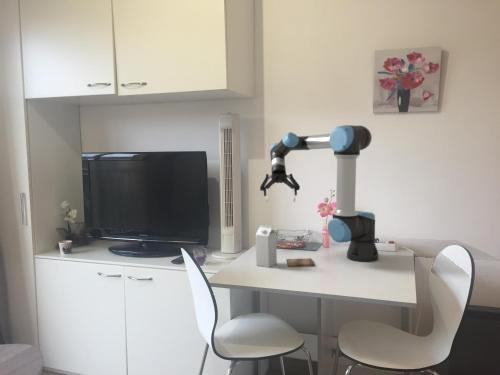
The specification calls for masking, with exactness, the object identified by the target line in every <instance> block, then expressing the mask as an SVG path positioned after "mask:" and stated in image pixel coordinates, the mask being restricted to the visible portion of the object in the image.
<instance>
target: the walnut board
mask: <svg viewBox="0 0 500 375" xmlns="http://www.w3.org/2000/svg"><path fill="white" fill-rule="evenodd" d="M285 262H286V263H287V264H286V265H287V266H288V268H302V267H303V268H304V267H307V268H308V267H315V263H314V261H313V260H312V257H311V258H310V257H309V258H286V261H285Z"/></svg>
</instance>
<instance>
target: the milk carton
mask: <svg viewBox="0 0 500 375" xmlns="http://www.w3.org/2000/svg"><path fill="white" fill-rule="evenodd" d="M277 254H278V253H277V232H276V231H275V230H274V228H273V225H268V224H267V225H264V224H259V228H258V229H257V231H256V233H255V261H256V262H255V264H256V266H259V267H265V268H271V267H272V266H275V265H276V264H277V263H278V260H277V259H278V258H277V257H278V256H277Z"/></svg>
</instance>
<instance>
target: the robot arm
mask: <svg viewBox="0 0 500 375" xmlns="http://www.w3.org/2000/svg"><path fill="white" fill-rule="evenodd" d="M372 137H373V136H372V134H371V131H370V129H369V128H367V127H366V126H363V125H352V124H351V125H349V124H345V125H344V124H343V125H339V126H336V127H335V128H333V130H332V131H331V132H330V133H323V134H313V135H305V136H304V135H303V136H301V135H299V136H298V135H297V134H296V133H295V132H288V133H286V134H285V135H284V136H283V138H282V139H281V140H280V141H279V142H276V143H274V144H272V145H270V150H269V151H270V153H269V155H270V168H271V174H268V173H267V174H265V178H264V179H263V181H262V183H261V185H260V187H259V188H260V189H259V190H260V191H263V196H264V197H265V198H266V201H265V202H266V203H269V192H268V191H269V189H270V188H271V186H273V185H274V184H275V183H276V184H285V185H286V186H287V187H289V189H291V190H292V201H293V203H294V202H296V196H297V194H298V191H300V190H301V186H300V185H299V183H298V182H297V181H296V179H295V178H294V176H293V173H290V174H287V171H286V170H287V169H286V161H285V160H286V159H285V157H286V156H287V155H288V154H289V153H290V152H292V151H311V150H322V149H331V150H332V151H333V156H334V157H335V158H336V193H335V194H336V196H335V197H336V200H335V201H336V202H335V206H336V208H335V210H334V211H333V212H332V218H331V220H329V222H328V223H327V232H328V235H329V237H331V239H332V240H333V241H334V242H336V243H339V244H340V243H341V244H343V243H349V245H348V248H347V251H346V258H347V259H349V260H351V261H354V262H365V263H366V262H368V263H370V262H374V261H377V260H379V252H378V248H377V245H376V215H375V213H373V212H370V211H363V210H361V211H360V210H356V186H357V185H356V184H357V181H356V180H357V158H359V156H361V151H363V150H365V149H367V148H368V147H369V146H370V144H371V142H372ZM270 179H271V180H270ZM269 180H270V181H269ZM268 181H269V182H268Z"/></svg>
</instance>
